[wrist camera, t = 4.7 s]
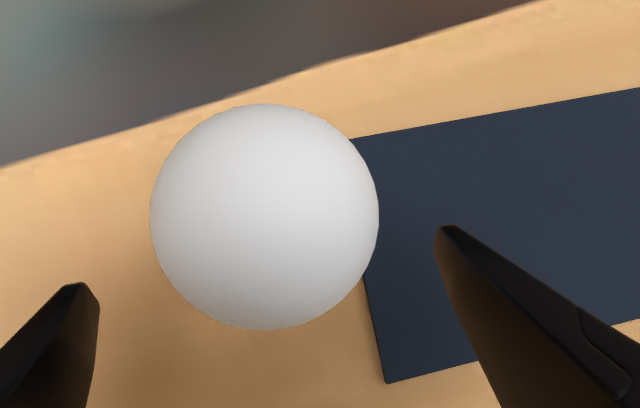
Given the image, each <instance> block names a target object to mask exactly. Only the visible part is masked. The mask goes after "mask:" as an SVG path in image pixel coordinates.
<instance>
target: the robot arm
mask: <svg viewBox="0 0 640 408" xmlns="http://www.w3.org/2000/svg"><path fill="white" fill-rule="evenodd" d="M433 254H434V257H435V260H436V263H437V266H438V268H439V271H440V274H441V277H442V280H443V283H444V286H445V288H446V291H447V294H448V297H449V299H450V302H451V305H452V307H453V309H454V311H455V313H456V315H457V317H458V319H459V321H460V324H461V326H462V328H463V330H464V332H465V334H466V336H467V338H468V340H469V342H470V344H471V346H472V348H473V350H474V352H475V354H476V356H477V358H478V361H479V363H480V365H481V367H482V369H483V371H484V373H485V375H486V377H487V379H488V381H489V383H490V385H491V387H492V389H493V391H494V393H495V396H496V398H497V400H498V402H499V404H500V406H501V408H640V343H638V342H636V341H634V340H633V339H631V338H629V337H628V336H626V335H624V334H623V333H621V332H619V331H617V330H616V329H614V328H613V327H611V326H610V325H608V324H606V323H605V322H603V321H602V320H600V319H598V318H597V317H595V316H594V315H592V314H591V313H589V312H588V311H586V310H585V309H583V308H582V307H580V306H577V305H576V304H575V303H574V302H572V301H571V300H569V299H568V298H566V297H565V296H563V295H562V294H560V293H559V292H557V291H555V290H554V289H552V288H551V287H549V286H548V285H546V284H545V283H543V282H542V281H540V280H539V279H537V278H536V277H534V276H533V275H531V274H530V273H528V272H527V271H525V270H524V269H522V268H520V267H519V266H517V265H516V264H514V263H513V262H511V261H510V260H508V259H507V258H505V257H504V256H502V255H501V254H499V253H498V252H496V251H495V250H493V249H492V248H490V247H489V246H487V245H485V244H484V243H482V242H481V241H479V240H478V239H476V238H475V237H473V236H472V235H470V234H469V233H467V232H466V231H464V230H463V229H461V228H460V227H458V226H457V225H455V224H446V225H440V226H439V227H438V228H437V231H436V235H435V239H434V243H433ZM99 314H100V306H99V302H98V300H97V299H96V297H95V296H94V295H93V293H92V292H91V290H90V289H89V287H88V286H87V285H86V284H85V283H83V282H78V283H71V284H66V285H64V286H63V287H61V288H60V289H59V290H58V291H57V292H56V293H55V294H54V295H53V296H52V297H51V298H50V299H49V300H48V301H47V302H46V303H45V304H44V305H43V306H42V307H41V308H40V310H39V311H38V312H37V313H36V314H35V315H34V316H33V317H32V318H31V319H30V320H29V321H28V322H27V323H26V324H25V325H24V326H23V327H22V328H21V329H20V330H19V331H18V332H17V333H16V334H15V335H14V336H13V337H12V338H11V339H10V340H9V341H8V342H7V343H6V344H5V345H4V346H3V347H2V348H1V349H0V408H86V404H87V399H88V395H89V390H90V386H91V381H92V376H93V371H94V364H95V355H96V345H97V335H98V325H99Z"/></svg>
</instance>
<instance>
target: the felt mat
mask: <svg viewBox="0 0 640 408" xmlns="http://www.w3.org/2000/svg"><path fill="white" fill-rule="evenodd" d="M348 140H349V141H350V142H351V143H352V144H353V145H354V146H355V148H356V149H357V151H358V152H359V154H360V155H361V157H362V158H363V160H364V161H365V163H366V165H367V167H368V170H369V172H370V174H371V177H372V179H373V181H374V185H375V190H376V194H377V199H378V207H379V227H378V233H377V239H376V244H375V248H374V251H373V253H372V256H371V259H370V261H369V264H368V266H367V268H366V270H365V271H364V273H363V279H364V284H365V289H366V294H367V298H368V303H369V308H370V313H371V317H372V322H373V327H374V332H375V336H376V341H377V346H378V350H379V355H380V360H381V365H382V369H383V374H384V379H385V382H386V384H390V383H394V382H398V381H402V380H405V379H409V378H413V377H417V376H421V375H425V374H428V373H432V372H436V371H440V370H444V369H448V368H451V367H455V366H459V365H463V364H467V363H471V362H474V361H478V358H477V356H476V354H475V352H474V350H473V348H472V346H471V344H470V342H469V340H468V338H467V336H466V334H465V332H464V330H463V328H462V326H461V324H460V321H459V319H458V317H457V315H456V313H455V311H454V309H453V307H452V305H451V302H450V299H449V297H448V294H447V291H446V288H445V286H444V283H443V280H442V277H441V274H440V271H439V268H438V266H437V263H436V260H435V257H434V254H433V243H434V239H435V235H436V231H437V228H438V227H439V226H440V225H446V224H455V225H457V226H458V227H460V228H461V229H463V230H464V231H466V232H467V233H469V234H470V235H472V236H473V237H475V238H476V239H478V240H479V241H481V242H482V243H484V244H485V245H487V246H489V247H490V248H492V249H493V250H495V251H496V252H498V253H499V254H501V255H502V256H504V257H505V258H507V259H508V260H510V261H511V262H513V263H514V264H516V265H517V266H519V267H520V268H522V269H524V270H525V271H527V272H528V273H530V274H531V275H533V276H534V277H536V278H537V279H539V280H540V281H542V282H543V283H545V284H546V285H548V286H549V287H551V288H552V289H554V290H555V291H557V292H559V293H560V294H562V295H563V296H565V297H566V298H568V299H569V300H571V301H572V302H574V303H575V304H576V305H577V306H580V307H582V308H583V309H585V310H586V311H588V312H589V313H591V314H592V315H594V316H595V317H597V318H598V319H600V320H602V321H603V322H605V323H606V324H608V325H610V326H612V325H616V324H620V323H624V322H627V321H631V320H635V319H639V318H640V87H639V88H633V89H627V90H622V91H616V92H611V93H605V94H600V95H594V96H588V97H583V98H577V99H572V100H566V101H560V102H555V103H549V104H544V105H538V106H533V107H527V108H521V109H516V110H510V111H505V112H499V113H493V114H488V115H482V116H477V117H471V118H466V119H460V120H454V121H449V122H443V123H438V124H432V125H426V126H421V127H415V128H410V129H404V130H399V131H393V132H387V133H382V134H376V135H371V136H365V137H359V138H354V139H348Z"/></svg>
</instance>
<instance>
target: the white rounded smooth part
mask: <svg viewBox="0 0 640 408" xmlns="http://www.w3.org/2000/svg"><path fill="white" fill-rule="evenodd" d="M149 226H150V232H151V238H152V243H153V249H154V251H155V254H156V256H157V259H158V261H159V264H160V266H161V269H162V271H163V272H164V274H165V275H166V277H167V278H168V280H169V281H170V283H171V284H172V286H173V287H174V289H175V290H176V291H177V292H178V293H179V294H180V295H181V296H182V297H183V298H184V299H185V300H186V301H187V302H188V303H189V304H190V305H191V306H192V307H194V308H196V309H197V310H199V311H200V312H202V313H203V314H205V315H206V316H208V317H209V318H211V319H214V320H216V321H219V322H221V323H224V324H226V325H229V326H232V327H236V328H242V329H248V330H254V331H264V330H281V329H285V328H290V327H294V326H298V325H302V324H304V323H306V322H308V321H311V320H313V319H315V318H317V317H319V316H321V315H323V314H324V313H326V312H327V311H329V310H330V309H331V308H333V307H334V306H336V305H337V304H338V303H340V302H341V301H342V300H343V299H344V298H345V297H346V295H347V294H348V293H349V292H350V291H351V290H352V289H353V288H354V287H355V286H356V284H357V283H358V281H359V279H360V278H361V276H362V275H363V273H364V271H365V270H366V268H367V266H368V264H369V261H370V259H371V256H372V253H373V251H374V248H375V244H376V239H377V233H378V227H379V207H378V199H377V194H376V190H375V185H374V181H373V179H372V177H371V174H370V172H369V170H368V167H367V165H366V163H365V161H364V160H363V158H362V157H361V155H360V154H359V152H358V151H357V149H356V148H355V146H354V145H353V144H352V143H351V142H350V141H349V140H348V139H347V138H346V137H345V136H344V135H343V134H342V133H341V132H340V131H339V130H338V129H336V128H335V127H334V126H332V125H331V124H329V123H328V122H326V121H325V120H323V119H322V118H320V117H318V116H315V115H313V114H311V113H309V112H306V111H304V110H302V109H298V108H294V107H289V106H284V105H280V104H252V105H246V106H240V107H234V108H232V109H229V110H226V111H224V112H221V113H218V114H215V115H213V116H212V117H210V118H208V119H207V120H205V121H203V122H202V123H200V124H198V125H197V126H195V127H194V128H193V129H192V130H191V131H190V132H189V133H188V134H186V135H185V136H184V137H183V138H182V139H181V140H180V141H179V142H178V143H177V145H176V146H175V147H174V149H173V150H172V151H171V153H170V154H169V155H168V157H167V158H166V160H165V161H164V164H163V166H162V168H161V170H160V172H159V174H158V176H157V179H156V181H155V185H154V189H153V193H152V197H151V202H150V224H149Z"/></svg>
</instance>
